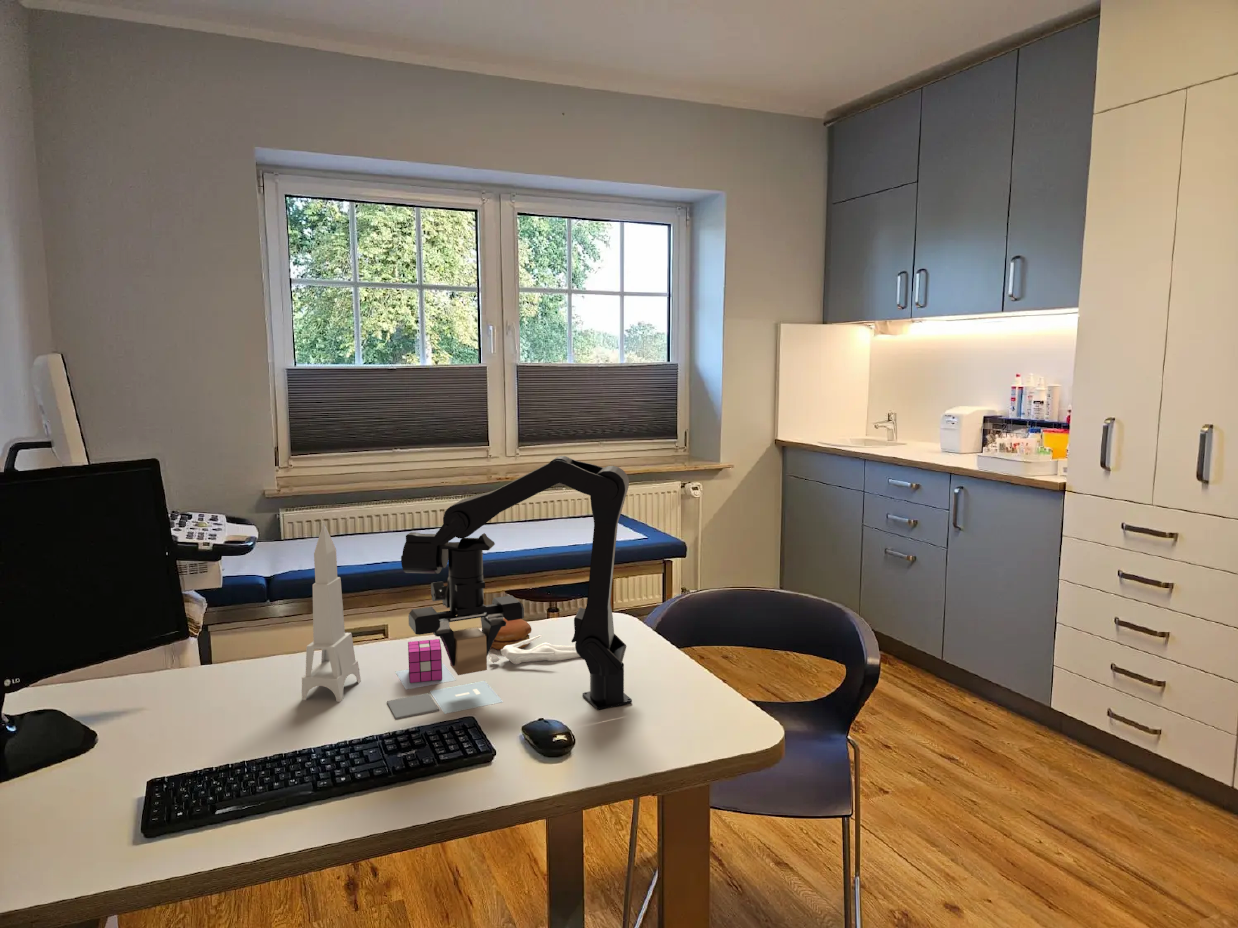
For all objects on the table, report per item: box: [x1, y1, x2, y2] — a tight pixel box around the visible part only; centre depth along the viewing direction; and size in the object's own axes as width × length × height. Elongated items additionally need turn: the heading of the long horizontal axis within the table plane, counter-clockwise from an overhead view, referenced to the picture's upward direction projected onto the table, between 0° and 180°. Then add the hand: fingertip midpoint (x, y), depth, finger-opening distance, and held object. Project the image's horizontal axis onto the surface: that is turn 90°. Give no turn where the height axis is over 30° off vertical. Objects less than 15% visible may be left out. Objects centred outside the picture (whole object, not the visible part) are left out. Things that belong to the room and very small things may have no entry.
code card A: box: [429, 680, 504, 715], centre depth 138 cm, size 10×10×1 cm
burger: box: [490, 617, 533, 651], centre depth 164 cm, size 10×9×5 cm
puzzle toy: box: [407, 638, 443, 683], centre depth 147 cm, size 6×6×6 cm
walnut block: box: [449, 627, 488, 676], centre depth 139 cm, size 5×5×6 cm
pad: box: [386, 692, 440, 720], centre depth 134 cm, size 7×7×1 cm
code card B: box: [395, 662, 457, 691], centre depth 147 cm, size 9×9×1 cm
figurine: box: [488, 634, 581, 665], centre depth 157 cm, size 10×4×25 cm
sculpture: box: [301, 522, 362, 703], centre depth 139 cm, size 7×8×30 cm
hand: (468, 662), depth 139 cm, fingers closed on walnut block, 5 cm apart
